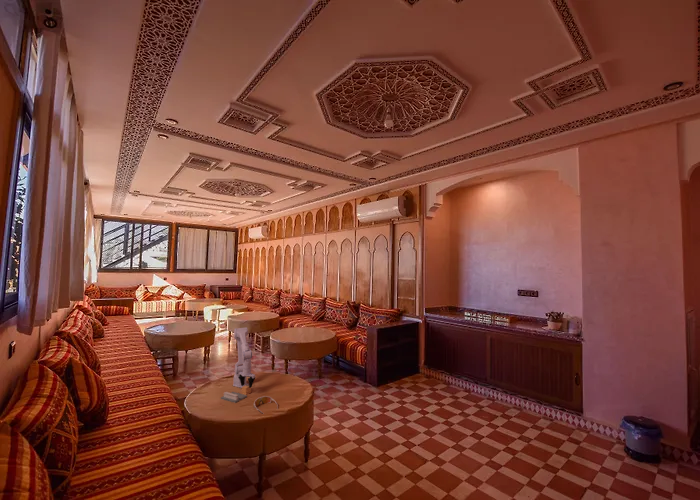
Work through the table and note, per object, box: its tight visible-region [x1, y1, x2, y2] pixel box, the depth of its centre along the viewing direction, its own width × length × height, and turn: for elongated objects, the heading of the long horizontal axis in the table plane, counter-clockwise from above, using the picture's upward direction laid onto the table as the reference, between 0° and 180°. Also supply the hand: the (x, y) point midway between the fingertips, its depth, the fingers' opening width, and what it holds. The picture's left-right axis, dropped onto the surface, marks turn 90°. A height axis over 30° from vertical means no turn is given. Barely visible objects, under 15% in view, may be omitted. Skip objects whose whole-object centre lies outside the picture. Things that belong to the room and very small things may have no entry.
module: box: [241, 385, 252, 396], centre depth 235 cm, size 4×5×5 cm
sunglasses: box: [253, 395, 279, 415], centre depth 213 cm, size 14×15×5 cm
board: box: [220, 391, 248, 404], centre depth 227 cm, size 14×11×4 cm
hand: (246, 386), depth 235 cm, fingers open, 7 cm apart
